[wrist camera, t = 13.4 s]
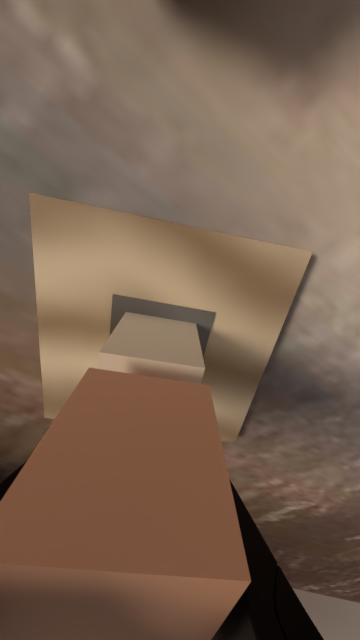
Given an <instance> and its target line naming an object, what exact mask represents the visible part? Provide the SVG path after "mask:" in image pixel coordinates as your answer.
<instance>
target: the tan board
mask: <svg viewBox="0 0 360 640" xmlns="http://www.w3.org/2000/svg"><path fill="white" fill-rule="evenodd" d="M29 198H30V213H31V227H32V242H33V256H34V271H35V286H36V300H37V315H38V329H39V344H40V359H41V373H42V388H43V402H44V417H45V418H52V419H55V418H56V417H57V415H58V414H59V412H60V411H61V409H62V408H63V406H64V405H65V403H66V402H67V400H68V399H69V397H70V395H71V394H72V392H73V391H74V389H75V388H76V386H77V385H78V383H79V382H80V380H81V379H82V377H83V376H84V374H85V373H86V371H87V370H88V368H96V369H98V365H99V352H100V350H101V349H102V347H103V346H104V344H105V343H106V341H107V340H108V338H109V337H110V335H111V334H112V332H113V331H114V329H115V328H116V326H117V325H118V323H119V322H120V320H121V319H122V317H123V316H124V314H125V313H126V312H130V313H136V314H142V315H148V316H154V317H160V318H166V319H172V320H178V321H184V322H190V323H196V326H197V331H198V336H199V341H200V346H201V350H202V355H203V360H204V365H205V371H204V374H203V378H202V382H201V384H204V385H209V386H210V391H211V396H212V400H213V405H214V410H215V414H216V419H217V424H218V428H219V433H220V438H221V440H224V441H232V442H235V441H236V439H237V436H238V434H239V431H240V429H241V427H242V424H243V422H244V419H245V417H246V414H247V412H248V409H249V407H250V404H251V402H252V400H253V397H254V395H255V392H256V390H257V387H258V385H259V382H260V380H261V378H262V375H263V373H264V370H265V368H266V365H267V363H268V360H269V358H270V355H271V353H272V351H273V348H274V346H275V343H276V341H277V338H278V336H279V333H280V331H281V329H282V326H283V324H284V321H285V319H286V316H287V314H288V311H289V309H290V307H291V304H292V302H293V299H294V297H295V294H296V292H297V289H298V287H299V284H300V282H301V280H302V277H303V275H304V272H305V270H306V267H307V265H308V262H309V260H310V258H311V255H312V253H313V252H310V251H305V250H301V249H296V248H291V247H286V246H282V245H277V244H272V243H267V242H263V241H258V240H253V239H248V238H243V237H239V236H234V235H229V234H224V233H220V232H215V231H210V230H205V229H201V228H196V227H191V226H186V225H182V224H177V223H172V222H167V221H162V220H158V219H153V218H148V217H143V216H139V215H134V214H129V213H124V212H120V211H115V210H110V209H105V208H100V207H96V206H91V205H86V204H81V203H77V202H72V201H67V200H62V199H58V198H53V197H48V196H43V195H39V194H34V193H29Z"/></svg>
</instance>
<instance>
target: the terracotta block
mask: <svg viewBox="0 0 360 640" xmlns="http://www.w3.org/2000/svg"><path fill="white" fill-rule="evenodd" d="M250 583H251V578H250V573H249V569H248V564H247V559H246V555H245V550H244V545H243V541H242V536H241V531H240V527H239V522H238V517H237V513H236V508H235V503H234V499H233V494H232V489H231V485H230V480H229V475H228V471H227V466H226V461H225V456H224V452H223V447H222V442H221V438H220V433H219V428H218V424H217V419H216V414H215V410H214V405H213V400H212V396H211V391H210V386H209V385H204V384H197V383H191V382H184V381H177V380H170V379H164V378H157V377H150V376H143V375H137V374H130V373H123V372H116V371H110V370H103V369H96V368H88V370H87V371H86V373H85V374H84V376H83V377H82V379H81V380H80V382H79V383H78V385H77V386H76V388H75V389H74V391H73V392H72V394H71V395H70V397H69V399H68V400H67V402H66V403H65V405H64V406H63V408H62V409H61V411H60V412H59V414H58V415H57V417H56V418H55V420H54V421H53V423H52V424H51V426H50V427H49V429H48V430H47V432H46V433H45V435H44V436H43V438H42V439H41V441H40V442H39V444H38V445H37V447H36V448H35V450H34V451H33V453H32V454H31V456H30V457H29V459H28V460H27V462H26V463H25V465H24V466H23V468H22V470H21V471H20V473H19V474H18V476H17V477H16V479H15V480H14V482H13V483H12V485H11V486H10V488H9V489H8V491H7V492H6V494H5V495H4V497H3V498H2V500H1V501H0V640H211V639H212V638H213V636H214V635H215V633H216V632H217V630H218V629H219V628H220V626H221V625H222V623H223V622H224V620H225V619H226V617H227V616H228V614H229V613H230V612H231V610H232V609H233V607H234V606H235V604H236V603H237V601H238V600H239V598H240V597H241V596H242V594H243V593H244V591H245V590H246V588H247V587H248V585H249V584H250Z"/></svg>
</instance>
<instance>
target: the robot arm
mask: <svg viewBox="0 0 360 640" xmlns="http://www.w3.org/2000/svg"><path fill="white" fill-rule="evenodd" d="M26 462H27V461H26ZM26 462H25V463H26ZM25 463H24V464H23V465H21V466H20V467H19V468H18V469H17V470H16V471H14V472H13V473H12V474H11V475H10V476H8V477H7V478H6V479H5V480H4V481H3V482H1V483H0V501H1V500H2V498H3V497H4V495H5V494H6V492H7V491H8V489H9V488H10V486H11V485H12V483H13V482H14V480H15V479H16V477H17V476H18V474H19V473H20V471H21V470H22V468H23V466H24V465H25ZM229 480H230V479H229ZM230 485H231V489H232V494H233V499H234V503H235V508H236V513H237V517H238V522H239V527H240V531H241V536H242V541H243V545H244V550H245V555H246V559H247V564H248V569H249V573H250V578H251V583H250V584H249V585H248V587H247V588H246V590H245V591H244V593H243V594H242V596H241V597H240V598H239V600H238V601H237V603H236V604H235V606H234V607H233V609H232V610H231V612H230V613H229V614H228V616H227V617H226V619H225V620H224V622H223V623H222V625H221V626H220V628H219V629H218V630H217V632H216V633H215V635H214V636H213V638H212V639H211V640H324V639H323V638H322V636H321V635H320V633H319V632H318V630H317V628H316V627H315V625H314V623H313V622H312V620H311V619H310V617H309V615H308V614H307V612H306V611H305V609H304V607H303V606H302V604H301V602H300V601H299V599H298V597H297V596H296V594H295V592H294V591H293V589H292V587H291V585H290V584H289V582H288V580H287V579H286V577H285V575H284V573H283V571H282V570H281V568H280V566H277V561H276V559H275V558H274V556H273V554H272V552H271V551H270V549H269V547H268V545H267V544H266V542H265V540H264V538H263V537H262V535H261V533H260V531H259V530H258V528H257V526H256V524H255V523H254V521H253V519H252V517H251V516H250V514H249V512H248V510H247V509H246V507H245V505H244V503H243V502H242V500H241V498H240V496H239V495H238V493H237V491H236V489H235V488H234V486H233V484H232V482H231V481H230Z"/></svg>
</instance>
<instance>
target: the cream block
mask: <svg viewBox="0 0 360 640" xmlns="http://www.w3.org/2000/svg"><path fill="white" fill-rule="evenodd" d="M98 369H103V370H110V371H116V372H123V373H130V374H137V375H143V376H150V377H157V378H164V379H170V380H177V381H184V382H191V383H197V384H201V382H202V378H203V374H204V371H205V365H204V360H203V355H202V350H201V346H200V341H199V336H198V331H197V326H196V323H190V322H184V321H178V320H172V319H166V318H160V317H154V316H148V315H142V314H136V313H130V312H126V313H125V314H124V316H123V317H122V319H121V320H120V322H119V323H118V325H117V326H116V328H115V329H114V331H113V332H112V334H111V335H110V337H109V338H108V340H107V341H106V343H105V344H104V346H103V347H102V349H101V350H100V352H99V365H98Z"/></svg>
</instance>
